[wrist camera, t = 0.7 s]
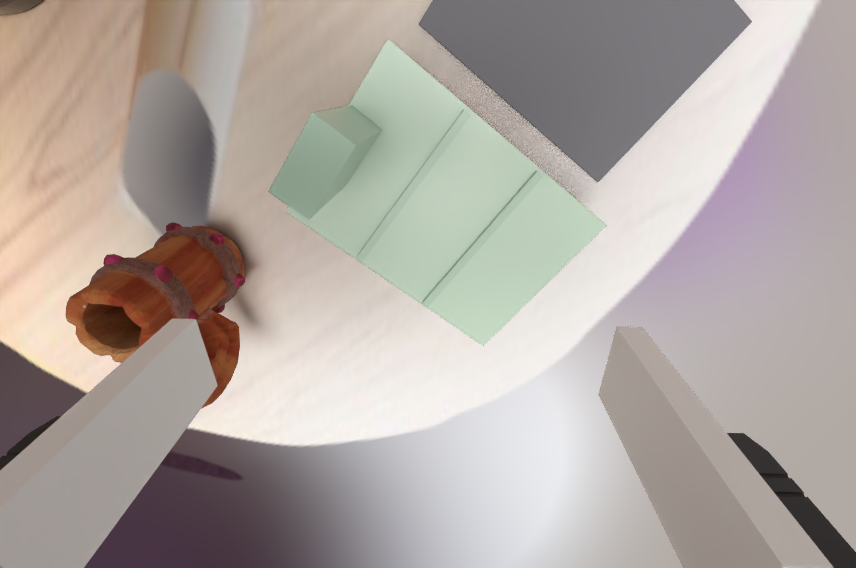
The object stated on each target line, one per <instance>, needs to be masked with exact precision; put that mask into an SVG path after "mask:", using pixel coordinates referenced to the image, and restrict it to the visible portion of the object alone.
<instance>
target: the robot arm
mask: <svg viewBox="0 0 856 568" xmlns="http://www.w3.org/2000/svg"><path fill="white" fill-rule="evenodd" d="M41 1H42V0H0V14H1V15H8V14H16V13H21V12H24V11H26V10H29V9H31V8H33V7H34V6H36V5H37V4H39V3H40V2H41ZM217 386H218V385H217V382H216V379H215V376H214V373H213V370H212V367H211V364H210V361H209V358H208V355H207V351H206V348H205V345H204V342H203V339H202V336H201V333H200V330H199V327H198V324H197V321H196V319H171V320H170V321H169V322H168V323H167V324H165V325H164V326H163V327H162V328H161V329H160V330H159V331H158V332H156V333H155V334H154V335H153V336H152V337H151V338H150V339H149V340H147V341H146V342H145V343H144V344H143V345H142V346H141V347H139V348H138V349H137V350H136V351H135V352H134V353H133V354H132V355H130V356H129V357H128V358H127V359H126V360H125V361H124V362H122V363H121V364H120V365H119V366H118V367H117V368H116V369H115V370H113V371H112V372H111V373H110V374H109V375H108V376H107V377H106V378H104V379H103V380H102V381H101V382H100V383H99V384H98V385H96V386H95V387H94V388H93V389H92V390H91V391H90V392H89V393H87V394H86V395H85V396H84V397H83V398H82V399H81V400H80V401H78V402H77V403H76V404H75V405H74V406H73V407H72V408H70V409H69V410H68V411H67V412H66V413H65V414H64V415H63V416H61V417H58V416H57V417H55V418H54V419H52V420H50V421H49V422H47V423H45V424H44V425H42V426H40V427H39V428H37V429H35V430H34V431H32V432H30V433H29V434H28V435H27V436H25V437H24V438H23V439H22V440H21V441H20V442H18V443H17V444H16V445H15V446H14V447H13V448H11V449H10V450H9V451H8V452H7V455H6V456H2V457H1V458H0V568H84V567H85V565H86V564H87V563H88V561H89V560H90V558H91V557H92V556H93V554H94V553H95V552H96V550H97V549H98V547H99V546H100V545H101V543H102V542H103V541H104V539H105V538H106V537H107V535H108V534H109V533H110V531H111V530H112V529H113V527H114V526H115V524H116V523H117V522H118V520H119V519H120V518H121V516H122V515H123V514H124V512H125V511H126V509H127V508H128V507H129V505H130V504H131V503H132V501H133V500H134V499H135V497H136V496H137V495H138V493H139V492H140V491H141V489H142V488H143V486H144V485H145V484H146V482H147V481H148V480H149V478H150V477H151V476H152V474H153V473H154V472H155V470H156V469H157V467H158V466H159V465H160V463H161V462H162V461H163V459H164V458H165V457H166V455H167V454H168V453H169V451H170V450H171V448H172V447H173V446H174V444H175V443H176V442H177V440H178V439H179V438H180V436H181V435H182V433H183V432H184V431H185V429H186V428H187V427H188V425H189V424H190V423H191V421H192V420H193V419H194V417H195V416H196V414H197V413H198V412H199V410H200V409H201V408H202V406H203V405H204V404H205V402H206V401H207V400H208V398H209V397H210V395H211V394H212V393H213V391H214V390H215V389H216V387H217ZM599 396H600V398H601V400H602V403H603V404H604V406H605V408H606V411H607V413H608V415H609V417H610V419H611V421H612V423H613V425H614V427H615V429H616V431H617V433H618V435H619V437H620V439H621V441H622V443H623V446H624V448H625V449H626V451H627V454H628V456H629V458H630V460H631V462H632V464H633V466H634V468H635V470H636V472H637V474H638V476H639V478H640V480H641V482H642V484H643V486H644V488H645V491H646V492H647V494H648V497H649V499H650V501H651V503H652V505H653V507H654V509H655V511H656V513H657V515H658V517H659V519H660V521H661V523H662V525H663V527H664V529H665V531H666V533H667V536H668V537H669V540H670V542H671V544H672V546H673V548H674V550H675V552H676V554H677V556H678V558H679V560H680V562H681V564H682V566H683V568H856V552H855V551H854V550H853V549H852V548H851V546H850V545H849V544H848V543H847V542H846V541H845V540H844V538H843V537H842V536H841V535H840V534H839V533H838V532H837V530H836V529H835V528H834V527H833V526H832V525H831V524H830V522H829V521H828V520H827V519H826V518H825V517H824V515H823V514H822V513H821V512H820V511H819V510H818V508H817V507H816V506H815V505H814V504H813V503H812V502H811V500H810V499H809V498H808V497H805V496H804V493H803V491H802V490H801V489H800V488H799V486H798V485H797V484H796V483H795V482H794V481H793V480H792V479H791V478H788V474H787V473H786V472H785V470H784V469H783V468H782V467H781V466H780V465H779V464H778V462H777V461H776V460H775V459H774V458H773V457H772V456H771V454H770V453H769V452H768V451H766V450H765V449H764V448H762V447H761V446H760V445H758V444H757V443H756V442H754V441H753V440H752V439H750V438H749V437H748V436H746V435H745V434H743V433H726V432H725V430H724V429H723V428H722V427H721V425H720V424H719V423H718V422H717V420H716V419H715V418H714V417H713V415H712V414H711V413H710V412H709V410H708V409H707V408H706V407H705V405H704V404H703V403H702V401H701V400H700V399H699V398H698V396H697V395H696V394H695V393H694V391H692V389H691V388H690V386H689V385H688V384H687V383H686V381H685V380H684V379H683V378H682V376H681V375H680V374H679V373H678V371H677V370H676V369H675V368H674V366H673V365H672V364H671V363H670V361H669V360H668V359H667V358H666V356H665V355H664V354H663V353H662V352H661V350H660V349H659V347H658V346H657V345H656V344H655V342H654V341H653V340H652V339H651V337H650V336H649V335H648V334H647V332H646V331H645V330H644V329H643V328H642V327H616V331H615V335H614V338H613V342H612V346H611V350H610V354H609V357H608V361H607V365H606V369H605V372H604V376H603V380H602V384H601V387H600V391H599Z"/></svg>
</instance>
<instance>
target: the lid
mask: <svg viewBox="0 0 856 568" xmlns="http://www.w3.org/2000/svg"><path fill="white" fill-rule="evenodd" d="M268 192H269V193H271V194H272V195H274V196H275V197H276V198H278V199H279V200H281V201H282V202H284V203H285V204H287V205H288V208H287V210H286V211H285V212H286V213H288V214H289V215H291V216H292V217H294V218H295V219H297V220H298V221H300V222H301V223H303V224H304V225H306V226H307V227H309V228H310V229H312V230H313V231H315V232H316V233H317V234H319V235H320V236H322V237H323V238H325V239H326V240H328V241H329V242H331V243H332V244H334V245H335V246H337V247H338V248H340V249H341V250H343V251H344V252H346V253H347V254H348V255H350V256H351V257H353V258H354V259H356V260H357V261H359V262H360V263H362V264H363V265H365V266H366V267H368V268H369V269H371V270H372V271H374V272H375V273H377V274H378V275H380V276H381V277H382V278H384V279H385V280H387V281H388V282H390V283H391V284H393V285H394V286H396V287H397V288H399V289H400V290H402V291H403V292H405V293H406V294H408V295H409V296H411V297H412V298H413V299H415V300H416V301H418V302H419V303H421V304H422V305H424V306H425V307H427V308H428V309H430V310H431V311H433V312H434V313H436V314H437V315H439V316H440V317H442V318H443V319H444V320H446V321H447V322H449V323H450V324H452V325H453V326H455V327H456V328H458V329H459V330H461V331H462V332H464V333H465V334H467V335H468V336H470V337H471V338H473V339H474V340H476V341H477V342H478V343H480V344H481V345H483V346H484V345H485V344H486V343H487V342H488V341H489V340H490V339H491V338H492V337H493V336H494V335H495V334H496V333H497V332H498V331H499V330H500V329H501V328H502V327H503V326H504V325H505V324H506V323H507V322H508V321H509V320H510V319H511V318H512V317H513V316H514V315H515V314H517V313H518V312H519V311H520V310H521V309H522V308H523V307H524V306H525V305H526V304H527V303H528V302H529V301H530V300H531V299H532V298H533V297H534V296H535V295H536V294H537V293H538V292H539V291H540V290H541V289H542V288H543V287H544V286H545V285H546V284H547V283H548V282H549V281H550V280H551V279H552V278H553V277H554V276H555V275H556V274H557V273H558V272H559V271H561V270H562V269H563V268H564V267H565V266H566V265H567V264H568V263H569V262H570V261H571V260H572V259H573V258H574V257H575V256H576V255H577V254H578V253H579V252H580V251H581V250H582V249H583V248H584V247H585V246H586V245H587V244H588V243H589V242H590V241H591V240H592V239H593V238H594V237H595V236H596V235H597V234H598V233H599V232H600V231H601V230H602V229H603V228H605V227H606V226H607V225H606V224H605V223H604V222H603V221H601V220H600V219H599V218H598V217H597V216H596V215H594V214H593V213H592V212H591V211H590V210H589V209H587V208H586V207H585V206H584V205H583V204H581V203H580V202H579V201H578V200H577V199H576V198H574V197H573V196H572V195H571V194H570V193H569V192H567V191H566V190H565V189H564V188H563V187H562V186H560V185H559V184H558V183H557V182H556V181H554V180H553V179H552V178H551V177H550V176H549V175H547V174H546V173H545V172H544V171H543V170H542V169H540V168H539V167H538V166H537V165H536V164H535V163H533V162H532V161H531V160H530V159H529V158H528V157H526V156H525V155H524V154H523V153H522V152H520V151H519V150H518V149H517V148H516V147H515V146H513V145H512V144H511V143H510V142H509V141H508V140H506V139H505V138H504V137H503V136H502V135H501V134H499V133H498V132H497V131H496V130H495V129H493V128H492V127H491V126H490V125H489V124H488V123H486V122H485V121H484V120H483V119H482V118H481V117H479V116H478V115H477V114H476V113H475V112H474V111H472V110H471V109H470V108H469V107H468V106H466V105H465V104H464V103H463V102H462V101H461V100H459V99H458V98H457V97H456V96H455V95H454V94H452V93H451V92H450V91H449V90H448V89H447V88H445V87H444V86H443V85H442V84H441V83H439V82H438V81H437V80H436V79H435V78H434V77H432V76H431V75H430V74H429V73H428V72H427V71H425V70H424V69H423V68H422V67H421V66H420V65H418V64H417V63H416V62H415V61H414V60H413V59H411V58H410V57H409V56H408V55H407V54H405V53H404V52H403V51H402V50H401V49H400V48H398V47H397V46H396V45H395V44H394V43H393V42H391V41H390V40H389V39H388V40H387V41H386V43H385V45H384V46H383V48H382V50H381V51H380V53H379V55H378V56H377V58H376V60H375V61H374V63H373V65H372V66H371V68H370V70H369V72H368V73H367V75H366V77H365V78H364V80H363V82H362V83H361V85H360V87H359V88H358V90H357V92H356V93H355V95H354V97H353V98H352V100H351V102H350V103H349V105H348V106H346V107H340V108H335V109H329V110H324V111H318V112H313V113H312V114H311V116H310V118H309V119H308V121H307V123H306V125H305V127H304V128H303V130H302V132H301V134H300V135H299V137H298V139H297V141H296V143H295V144H294V146H293V148H292V150H291V152H290V153H289V155H288V157H287V159H286V161H285V162H284V164H283V166H282V168H281V170H280V171H279V173H278V175H277V177H276V179H275V180H274V182H273V184H272V186H271V187H270V189H269V191H268Z"/></svg>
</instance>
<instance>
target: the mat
mask: <svg viewBox="0 0 856 568" xmlns="http://www.w3.org/2000/svg"><path fill="white" fill-rule="evenodd" d="M751 22H752V21H751V20H750V19H749V17H748V16H747V15H746V14H745V13H744V12H743V10H742V9H741V8H740V7H739V6H738V4H737V3H736V2H735V1H734V0H433V2H432V3H431V5H430V6H429V8H428V10H427V11H426V13H425V15H424V16H423V18H422V19H421V21H420V23H419V25H420V26H421V27H422V28H424V29H425V30H426V31H427V32H428V33H429V34H430V35H431V36H433V37H434V38H435V39H436V40H437V41H438V42H439V43H441V44H442V45H443V46H444V47H445V48H446V49H447V50H448V51H450V52H451V53H452V54H453V55H454V56H455V57H456V58H458V59H459V60H460V61H461V62H462V63H463V64H464V65H465V66H467V67H468V68H469V69H470V70H471V71H472V72H473V73H475V74H476V75H477V76H478V77H479V78H480V79H481V80H483V81H484V82H485V83H486V84H487V85H488V86H489V87H490V88H492V89H493V90H494V91H495V92H496V93H497V94H498V95H500V96H501V97H502V98H503V99H504V100H505V101H506V102H507V103H509V104H510V105H511V106H512V107H513V108H514V109H515V110H517V111H518V112H519V113H520V114H521V115H522V116H523V117H524V118H526V119H527V120H528V121H529V122H530V123H531V124H532V125H534V126H535V127H536V128H537V129H538V130H539V131H540V132H541V133H543V134H544V135H545V136H546V137H547V138H548V139H549V140H551V141H552V142H553V143H554V144H555V145H556V146H557V147H558V148H560V149H561V150H562V151H563V152H564V153H565V154H566V155H568V156H569V157H570V158H571V159H572V160H573V161H574V162H575V163H577V164H578V165H579V166H580V167H581V168H582V169H583V170H585V171H586V172H587V173H588V174H589V175H590V176H591V177H592V178H594V179H595V180H596V181H597V182H599V181H600V180H601V179H602V178H603V177H604V176H605V175H606V174H607V172H608V171H609V170H610V169H611V168H612V167H613V166H614V165H615V164H616V163H617V162H618V161H619V160H620V159H621V158H622V157H623V156H624V155H625V154H626V153H627V152H628V151H629V149H630V148H631V147H632V146H633V145H634V144H635V143H636V142H637V141H638V140H639V139H640V138H641V137H642V136H643V135H644V134H645V133H646V132H647V131H648V130H649V129H650V128H651V127H652V125H653V124H654V123H655V122H656V121H657V120H658V119H659V118H660V117H661V116H662V115H663V114H664V113H665V112H666V111H667V110H668V109H669V108H670V107H671V106H672V105H673V104H674V103H675V101H676V100H677V99H678V98H679V97H680V96H681V95H682V94H683V93H684V92H685V91H686V90H687V89H688V88H689V87H690V86H691V85H692V84H693V83H694V82H695V81H696V80H697V79H698V77H699V76H700V75H701V74H702V73H703V72H704V71H705V70H706V69H707V68H708V67H709V66H710V65H711V64H712V63H713V62H714V61H715V60H716V59H717V58H718V57H719V56H720V55H721V53H722V52H723V51H724V50H725V49H726V48H727V47H728V46H729V45H730V44H731V43H732V42H733V41H734V40H735V39H736V38H737V37H738V36H739V35H740V34H741V33H742V32H743V31H744V29H745V28H746V27H747V26H748V25H749V24H750V23H751Z"/></svg>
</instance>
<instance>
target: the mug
mask: <svg viewBox="0 0 856 568" xmlns="http://www.w3.org/2000/svg"><path fill="white" fill-rule="evenodd" d="M166 231H167V232H166V233H165V234H164V235H163V236H161V237H160V238H159V239H158V240H157V242H156V243H155V245H154V247H153V248H152V249H150V250H148V251H146V252H144V253H143V254H141V255H139V256H138V257H136V258H123V257H121V256H118V255H115V254H112V255H106V257H105V258H104V266H103V267H102V268H100V269H99V270H97V272H96V273H95V274H94V275H93V277H92V279H91V282H90V284H89V286H87V287H86V288H84V289H82V290H81V291H79V292H77V293H76V294H74V295H73V296H71V297H70V298H69V300H68V302H67V306H66V319H67V321H68V322H70V323H71V324H73V325H75V326H76V335H77V337H78V339H79V341H80V343H81V344H83V345H84V346H85V347H87V348H88V349H89V350H90V351H92V352H93V353H94V354H97V355H100V356H105V355H111V357H112V358H113V360H114V361H115V362H120V363H122V362H124V361H125V360H126V359H127V358H128V357H129V356H130V355H132V354H133V353H134V352H135V351H136V350H137V349H138V348H139V347H141V346H142V345H143V344H144V343H145V342H146V341H147V340H149V339H150V338H151V337H152V336H153V335H154V334H155V333H156V332H158V331H159V330H160V329H161V328H162V327H163V326H164V325H165V324H167V323H168V322H169V321H170V320H171V319H196V321H197V324H198V327H199V330H200V333H201V336H202V339H203V342H204V345H205V348H206V351H207V355H208V358H209V361H210V364H211V367H212V370H213V373H214V376H215V379H216V382H217V385H218V386H217V387H216V389H215V390H214V391H213V393H212V394H211V395H210V397H209V398H208V400H207V401H206V402H205V404H204V405H203V406H202V408H203V407H205V406H207V405H209V404H211V403H213V402H214V401H215V400H216V399H217V398H218V397H219V396H220V395H221V394H222V393H223V391H224V389H225V388H226V386H227V385H228V383H229V382H230V380H231V378H232V376H233V373H234V371H235V368H236V366H237V363H238V356H239V349H240V338H239V327H238V325H237V324H236V323H235V322H233V321H231V320H229V319H227V318H225V317H224V316H222V315H220V314H218V313H221V312H222V311H223V310H224V308H225V303H227V302H228V301H229V300H230V299H232V298H233V297H234V295H235V294H236V292H237V291H238V289H239V286H242V285H243V284H244V282H245V279H244V275H245V267H244V262H243V257H242V254H241V252H240V250H239V248H238V247H237V246H236V244H235V243H234V242H233V241H232V240H231V239H229V238H227V237H226V236H224V235H223V234H221V233H220V232H218V231H216V230H214V229H211V228H209V227H204V226H193V227H181V225H179V224H176V223H170V224H168V225H167V226H166Z"/></svg>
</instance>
